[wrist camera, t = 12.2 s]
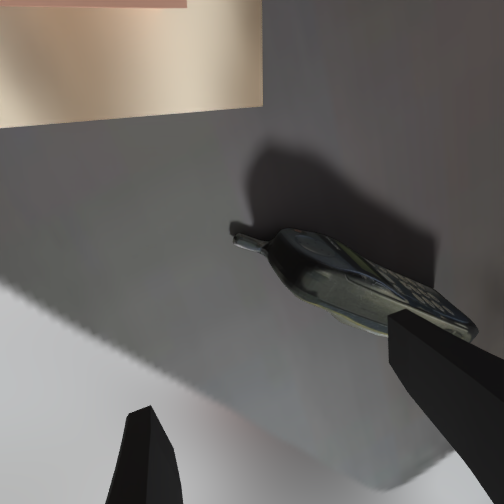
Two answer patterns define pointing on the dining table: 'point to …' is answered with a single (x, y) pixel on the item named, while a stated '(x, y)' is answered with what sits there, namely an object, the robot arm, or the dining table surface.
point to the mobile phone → (352, 284)
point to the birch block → (128, 61)
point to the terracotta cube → (97, 3)
